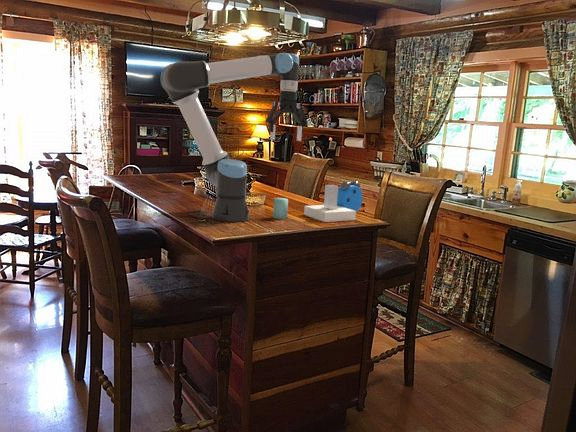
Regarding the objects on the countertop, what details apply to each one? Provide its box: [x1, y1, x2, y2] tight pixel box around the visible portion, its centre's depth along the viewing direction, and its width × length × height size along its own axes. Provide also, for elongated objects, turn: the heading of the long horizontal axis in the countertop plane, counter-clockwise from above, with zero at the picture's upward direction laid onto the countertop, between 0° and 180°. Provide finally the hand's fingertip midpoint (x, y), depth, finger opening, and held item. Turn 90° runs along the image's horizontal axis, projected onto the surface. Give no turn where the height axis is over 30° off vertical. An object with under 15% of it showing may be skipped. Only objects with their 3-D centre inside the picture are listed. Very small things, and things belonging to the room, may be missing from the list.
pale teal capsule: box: [272, 197, 289, 220], centre depth 208 cm, size 6×6×8 cm
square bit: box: [323, 184, 339, 210], centre depth 215 cm, size 4×4×14 cm
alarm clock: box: [337, 180, 364, 213], centre depth 227 cm, size 13×6×15 cm, turn 131°
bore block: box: [303, 204, 357, 223], centre depth 216 cm, size 16×16×4 cm
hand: (285, 140), depth 219 cm, fingers open, 13 cm apart
